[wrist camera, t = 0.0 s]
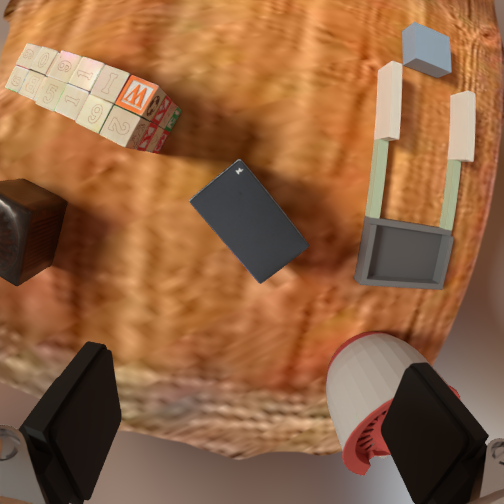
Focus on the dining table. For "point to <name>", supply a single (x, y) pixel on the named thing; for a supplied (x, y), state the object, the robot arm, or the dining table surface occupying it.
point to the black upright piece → (27, 229)
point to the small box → (249, 221)
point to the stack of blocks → (96, 97)
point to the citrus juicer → (366, 392)
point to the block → (426, 50)
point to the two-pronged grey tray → (400, 232)
